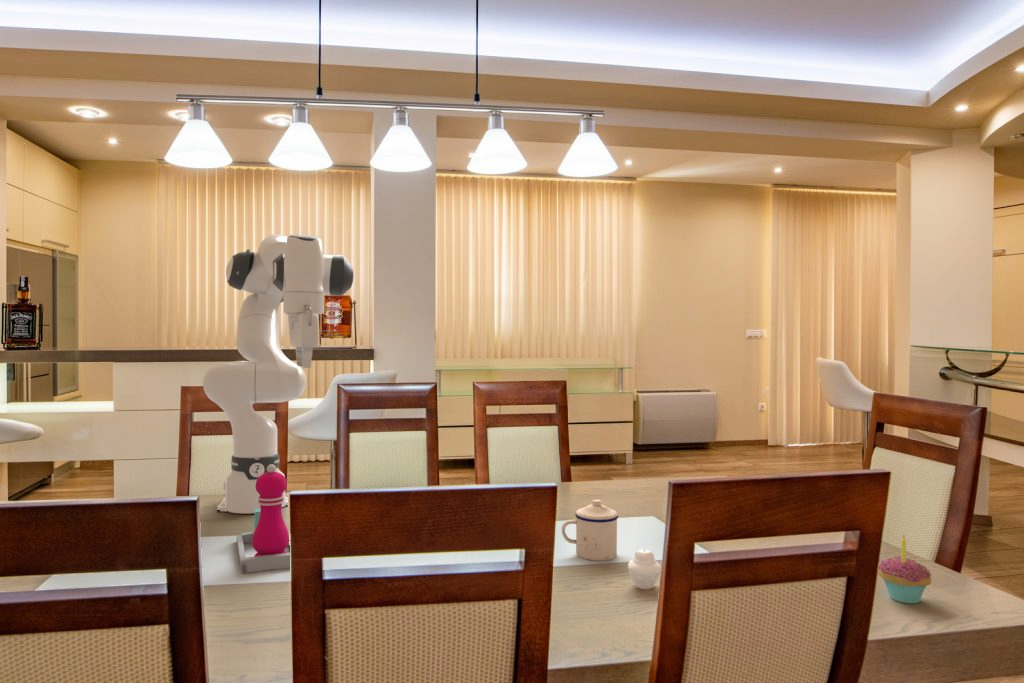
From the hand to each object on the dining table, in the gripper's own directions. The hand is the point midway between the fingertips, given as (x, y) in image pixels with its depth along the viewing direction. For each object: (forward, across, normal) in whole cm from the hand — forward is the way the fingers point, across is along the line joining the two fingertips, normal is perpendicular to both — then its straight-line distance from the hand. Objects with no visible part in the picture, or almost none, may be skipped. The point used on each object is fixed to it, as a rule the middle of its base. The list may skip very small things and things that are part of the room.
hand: (303, 367), depth 154 cm
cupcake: (+39, -77, -95) cm, 128 cm away
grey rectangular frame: (+39, -7, +8) cm, 40 cm away
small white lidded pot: (+39, -54, -55) cm, 87 cm away
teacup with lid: (+39, -34, -55) cm, 76 cm away
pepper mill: (+39, -13, +8) cm, 42 cm away
